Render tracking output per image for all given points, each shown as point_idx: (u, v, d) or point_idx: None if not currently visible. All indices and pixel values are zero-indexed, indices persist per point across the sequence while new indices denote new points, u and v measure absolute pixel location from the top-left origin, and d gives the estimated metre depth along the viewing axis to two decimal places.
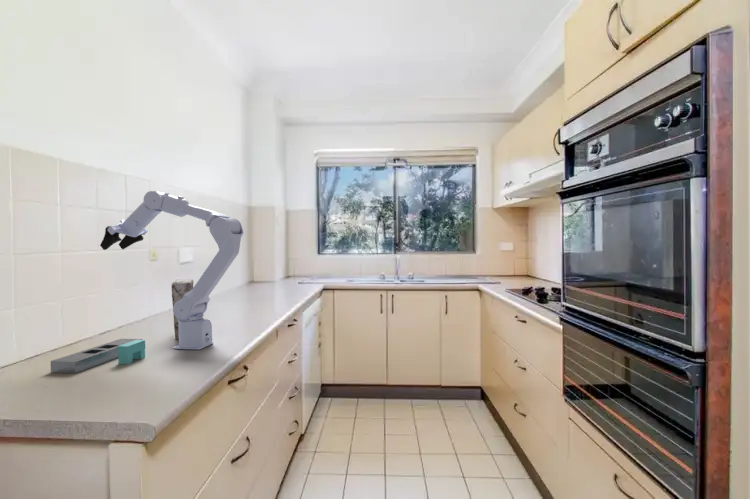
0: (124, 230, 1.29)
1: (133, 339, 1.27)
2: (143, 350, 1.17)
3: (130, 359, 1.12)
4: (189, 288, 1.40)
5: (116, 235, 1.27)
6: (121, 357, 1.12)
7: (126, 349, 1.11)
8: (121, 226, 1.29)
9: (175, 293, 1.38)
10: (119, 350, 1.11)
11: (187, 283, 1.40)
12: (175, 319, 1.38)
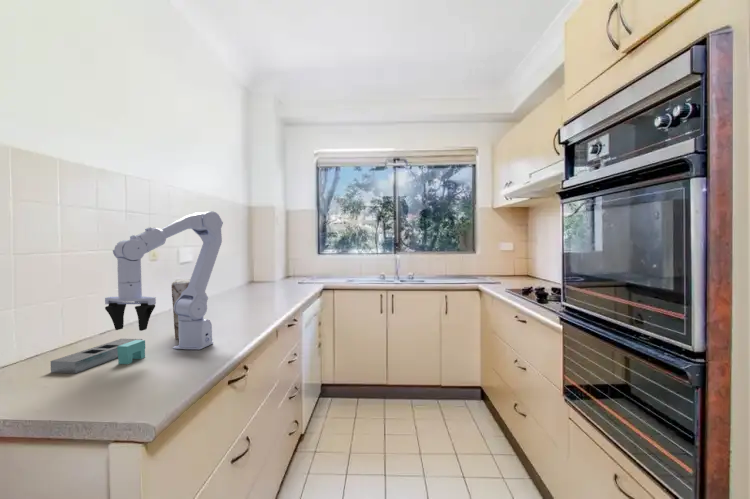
0: (141, 297, 1.15)
1: (133, 339, 1.27)
2: (143, 350, 1.17)
3: (130, 359, 1.12)
4: None
5: None
6: (121, 357, 1.12)
7: (126, 349, 1.11)
8: (136, 298, 1.13)
9: (175, 293, 1.38)
10: (119, 350, 1.11)
11: (187, 283, 1.40)
12: (175, 319, 1.38)
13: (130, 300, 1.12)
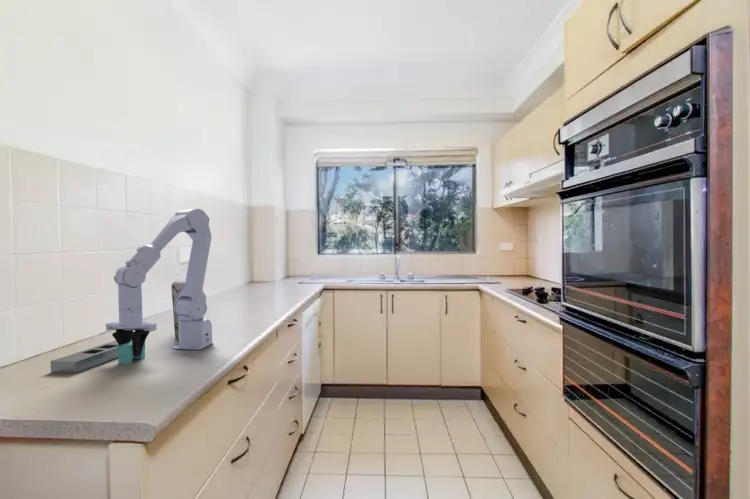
0: (142, 323, 1.15)
1: None
2: (143, 350, 1.17)
3: (130, 359, 1.12)
4: None
5: None
6: (121, 357, 1.12)
7: (126, 349, 1.11)
8: (137, 325, 1.13)
9: (175, 293, 1.38)
10: (119, 350, 1.11)
11: None
12: (175, 319, 1.38)
13: (131, 327, 1.12)
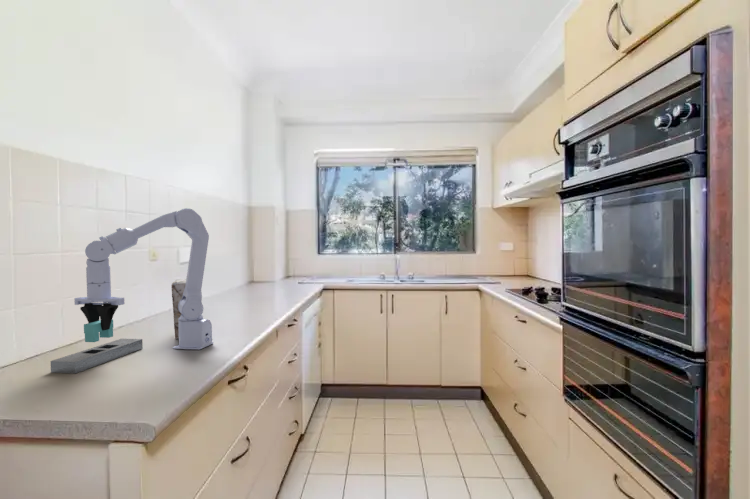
0: (110, 298, 1.16)
1: (133, 339, 1.27)
2: (111, 329, 1.18)
3: (97, 337, 1.13)
4: None
5: None
6: (87, 335, 1.13)
7: (92, 327, 1.12)
8: (105, 299, 1.15)
9: (175, 293, 1.38)
10: (86, 328, 1.12)
11: None
12: (175, 319, 1.38)
13: (98, 300, 1.13)
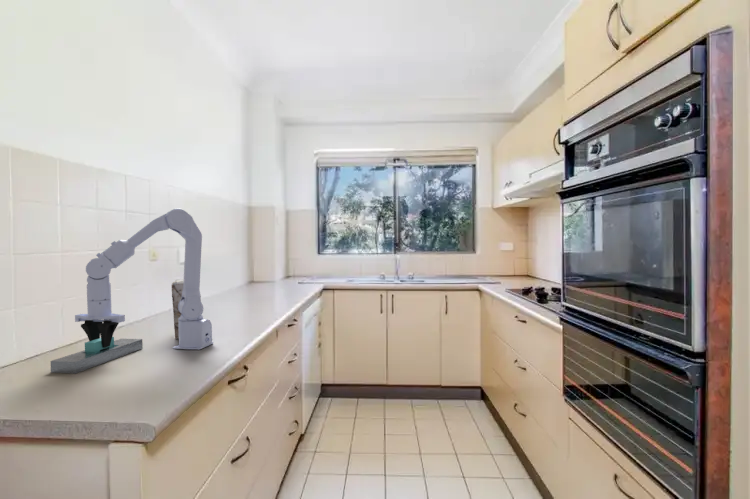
0: (110, 315, 1.16)
1: (133, 339, 1.27)
2: (112, 347, 1.18)
3: None
4: None
5: None
6: None
7: (93, 345, 1.12)
8: None
9: (175, 293, 1.38)
10: (87, 346, 1.13)
11: None
12: (175, 319, 1.38)
13: (99, 318, 1.13)
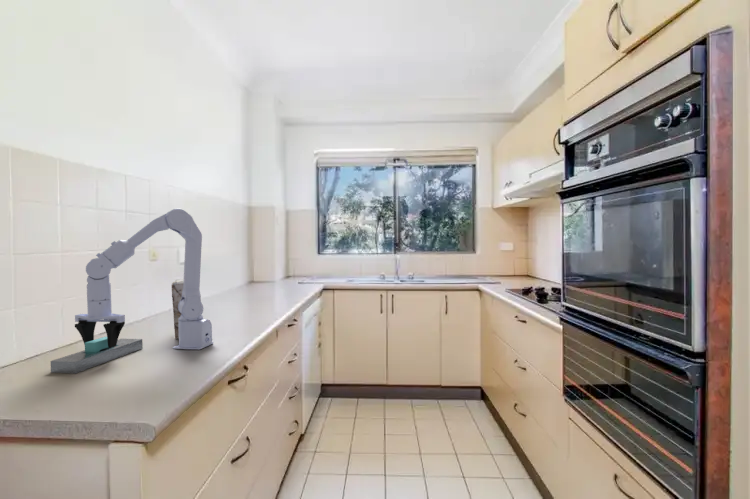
0: (110, 315, 1.16)
1: (133, 339, 1.27)
2: (112, 347, 1.18)
3: None
4: None
5: None
6: None
7: (93, 345, 1.12)
8: None
9: (175, 293, 1.38)
10: (87, 346, 1.13)
11: None
12: (175, 319, 1.38)
13: (99, 318, 1.13)
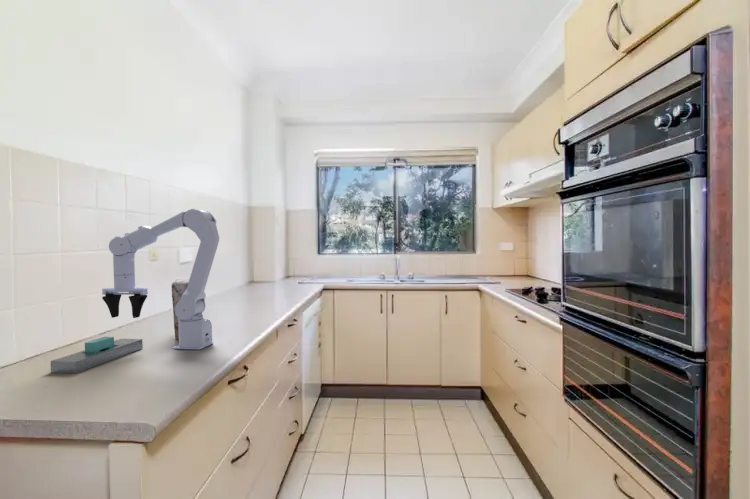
0: (134, 288, 1.28)
1: (133, 339, 1.27)
2: (112, 347, 1.18)
3: None
4: None
5: None
6: None
7: (93, 345, 1.12)
8: None
9: (175, 293, 1.38)
10: (87, 346, 1.13)
11: (187, 283, 1.40)
12: (175, 319, 1.38)
13: (124, 290, 1.25)
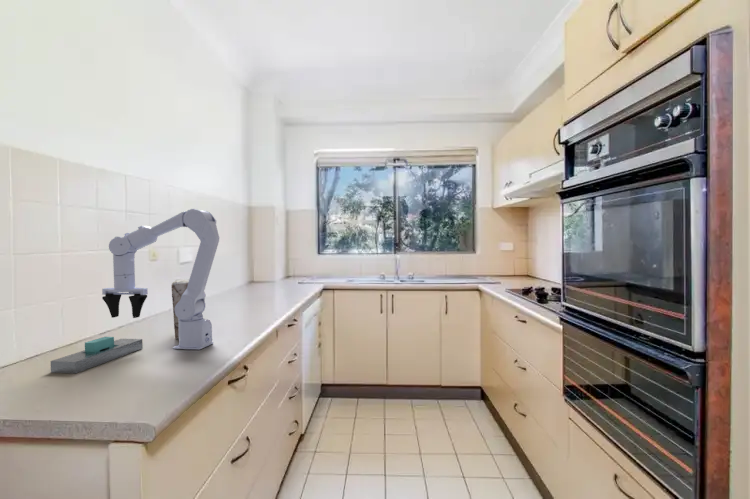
0: (134, 288, 1.28)
1: (133, 339, 1.27)
2: (112, 347, 1.18)
3: None
4: None
5: None
6: None
7: (93, 345, 1.12)
8: None
9: (175, 293, 1.38)
10: (87, 346, 1.13)
11: (187, 283, 1.40)
12: (175, 319, 1.38)
13: (124, 290, 1.25)
